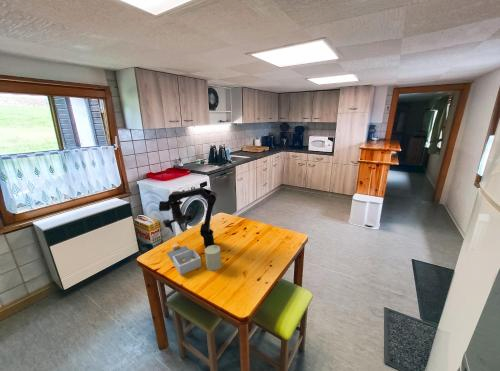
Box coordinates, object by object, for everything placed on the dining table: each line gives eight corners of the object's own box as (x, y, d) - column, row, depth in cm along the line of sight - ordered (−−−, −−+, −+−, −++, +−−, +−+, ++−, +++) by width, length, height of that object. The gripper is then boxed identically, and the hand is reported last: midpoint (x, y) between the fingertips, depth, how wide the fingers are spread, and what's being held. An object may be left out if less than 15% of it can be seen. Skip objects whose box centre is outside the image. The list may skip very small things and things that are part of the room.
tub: (193, 256, 142) (192, 248, 140) (201, 265, 133) (200, 257, 131) (173, 264, 134) (172, 256, 133) (180, 275, 125) (179, 266, 123)
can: (224, 262, 135) (222, 245, 132) (217, 272, 127) (215, 254, 123) (211, 259, 138) (209, 243, 134) (203, 268, 130) (201, 251, 126)
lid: (183, 243, 156) (183, 240, 155) (192, 255, 144) (192, 251, 143) (164, 250, 149) (164, 247, 148) (173, 263, 136) (172, 259, 135)
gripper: (166, 218, 134) (170, 240, 139) (194, 209, 145) (197, 230, 150) (160, 213, 143) (164, 233, 148) (187, 205, 154) (190, 224, 158)
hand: (179, 230), depth 151 cm, fingers open, 9 cm apart
